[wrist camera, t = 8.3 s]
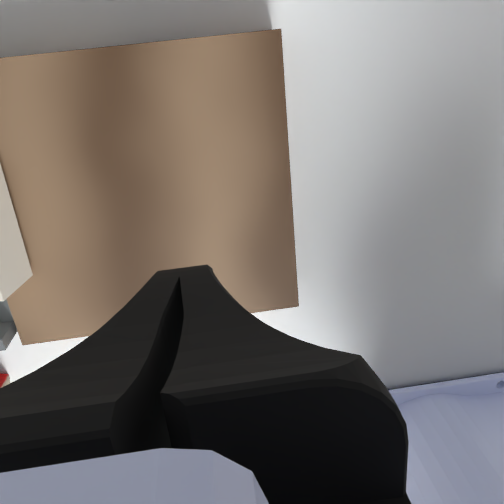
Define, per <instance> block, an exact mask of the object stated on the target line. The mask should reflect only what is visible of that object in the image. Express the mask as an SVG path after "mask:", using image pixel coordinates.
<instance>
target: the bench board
mask: <svg viewBox="0 0 504 504" xmlns="http://www.w3.org/2000/svg"><path fill="white" fill-rule="evenodd" d="M0 164H1V167H2V171H3V174H4V178H5V181H6V185H7V188H8V191H9V195H10V198H11V202H12V205H13V209H14V212H15V215H16V219H17V222H18V226H19V229H20V233H21V236H22V239H23V243H24V246H25V250H26V253H27V257H28V260H29V263H30V267H31V270H32V274H33V275H32V276H31V277H30V278H29V279H28V280H27V281H26V282H25V283H24V284H22V285H21V286H20V287H19V288H18V289H17V290H16V291H15V292H14V293H12V294H11V295H10V296H9V297H8V298H7V302H8V305H9V308H10V311H11V314H12V316H13V319H14V322H15V325H16V328H17V331H18V334H19V336H20V339H21V342H22V345H28V344H35V343H42V342H49V341H56V340H63V339H71V338H78V337H85V336H91V335H92V334H93V333H94V332H96V331H97V330H98V329H99V328H101V327H102V326H103V325H104V324H105V323H106V322H108V321H109V320H110V319H111V318H112V317H113V316H114V315H115V314H116V313H117V312H118V311H119V310H121V309H122V308H123V307H124V306H125V305H126V304H127V303H128V302H129V301H130V300H131V299H132V298H133V297H134V296H135V295H136V293H137V292H138V291H139V290H140V289H141V288H142V287H143V286H144V285H145V284H146V283H147V282H148V280H149V279H150V278H151V277H152V276H153V275H154V274H155V273H156V272H157V271H161V270H169V269H176V268H184V267H191V266H199V265H209V266H210V267H211V268H212V269H213V272H214V274H215V276H216V277H217V279H218V280H219V281H220V283H221V284H222V285H223V287H224V288H225V289H226V290H227V291H228V292H229V293H230V295H231V296H232V297H233V298H234V299H235V300H236V301H237V302H238V303H239V304H240V305H241V306H243V307H244V308H245V309H246V310H247V311H248V312H250V313H255V312H262V311H269V310H276V309H283V308H290V307H297V306H299V303H298V287H297V271H296V255H295V240H294V224H293V208H292V193H291V177H290V161H289V146H288V130H287V114H286V98H285V83H284V67H283V51H282V36H281V29H275V30H265V31H255V32H246V33H236V34H226V35H217V36H207V37H197V38H188V39H178V40H168V41H159V42H149V43H139V44H130V45H120V46H110V47H101V48H91V49H81V50H72V51H62V52H52V53H43V54H33V55H23V56H14V57H4V58H0Z"/></svg>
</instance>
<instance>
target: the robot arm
mask: <svg viewBox="0 0 504 504" xmlns="http://www.w3.org/2000/svg"><path fill="white" fill-rule="evenodd" d="M499 381H500V382H499ZM498 382H499V383H498ZM0 504H504V372H503V373H496V374H490V375H483V376H477V377H470V378H464V379H457V380H451V381H444V382H438V383H431V384H425V385H418V386H412V387H406V388H399V389H393V390H388V389H387V388H386V387H385V385H384V384H383V383H382V381H381V380H380V379H379V378H378V376H377V375H376V374H375V372H374V371H373V370H372V369H371V367H370V366H369V365H368V364H367V362H366V361H365V360H364V359H363V358H362V357H361V356H360V355H356V354H351V353H347V352H342V351H337V350H332V349H327V348H323V347H320V346H317V345H313V344H310V343H307V342H304V341H301V340H299V339H296V338H294V337H291V336H289V335H287V334H285V333H282V332H280V331H278V330H276V329H274V328H272V327H270V326H269V325H267V324H265V323H263V322H262V321H260V320H259V319H257V318H256V317H255V316H253V315H252V314H251V313H250V312H248V311H247V310H246V309H245V308H244V307H243V306H241V305H240V304H239V303H238V302H237V301H236V300H235V299H234V298H233V297H232V296H231V295H230V293H229V292H228V291H227V290H226V289H225V288H224V287H223V285H222V284H221V283H220V281H219V280H218V279H217V277H216V276H215V274H214V272H213V269H212V268H211V267H210V266H209V265H199V266H191V267H184V268H176V269H169V270H161V271H157V272H156V273H155V274H154V275H153V276H152V277H151V278H150V279H149V280H148V282H147V283H146V284H145V285H144V286H143V287H142V288H141V289H140V290H139V291H138V292H137V293H136V295H135V296H134V297H133V298H132V299H131V300H130V301H129V302H128V303H127V304H126V305H125V306H124V307H123V308H122V309H121V310H119V311H118V312H117V313H116V314H115V315H114V316H113V317H112V318H111V319H110V320H109V321H108V322H106V323H105V324H104V325H103V326H102V327H101V328H99V329H98V330H97V331H96V332H94V333H93V334H92V335H91V336H89V337H88V338H86V339H85V340H84V341H82V342H81V343H80V344H78V345H77V346H75V347H74V348H72V349H71V350H69V351H68V352H66V353H64V354H63V355H61V356H59V357H58V358H56V359H54V360H53V361H51V362H49V363H48V364H46V365H44V366H43V367H41V368H39V369H38V370H36V371H34V372H32V373H30V374H28V375H26V376H24V377H22V378H20V379H18V380H16V381H15V382H12V383H10V384H8V385H6V386H4V387H2V388H0Z"/></svg>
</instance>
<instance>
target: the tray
mask: <svg viewBox="0 0 504 504" xmlns="http://www.w3.org/2000/svg"><path fill="white" fill-rule="evenodd" d="M16 332H17V328H16V325H15V322H14V319H13V316H12V314H11V311H10V308H9V305H8V302H7V299H6V300H5V301H0V351H2V350H6V348H7V347H8V345H9V344H10V342H11V340H12V339H13V337H14V335H15V334H16Z"/></svg>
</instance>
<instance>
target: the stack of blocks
mask: <svg viewBox="0 0 504 504" xmlns="http://www.w3.org/2000/svg"><path fill="white" fill-rule="evenodd" d="M8 384H10V378H9V375H8V374H1V373H0V388H2V387H4V386H6V385H8Z"/></svg>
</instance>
